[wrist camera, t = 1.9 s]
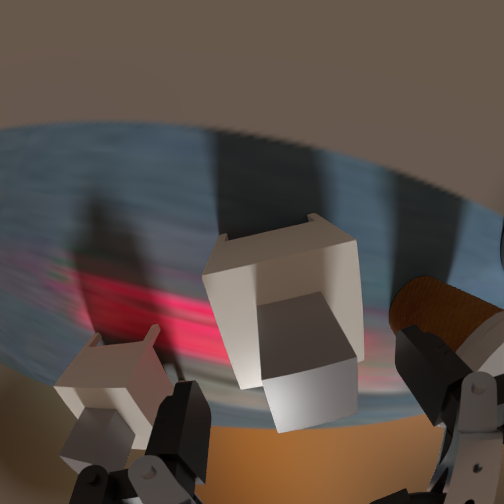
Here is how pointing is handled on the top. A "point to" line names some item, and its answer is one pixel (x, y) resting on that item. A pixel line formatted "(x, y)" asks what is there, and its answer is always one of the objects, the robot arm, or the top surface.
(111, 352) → the cover
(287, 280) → the cover
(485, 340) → the disposable coffee cup
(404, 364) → the robot arm
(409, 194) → the top surface
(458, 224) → the top surface
